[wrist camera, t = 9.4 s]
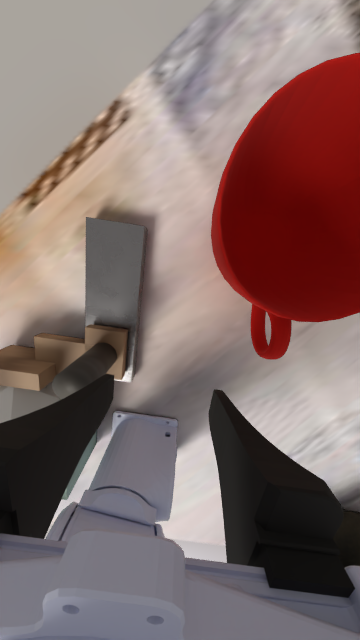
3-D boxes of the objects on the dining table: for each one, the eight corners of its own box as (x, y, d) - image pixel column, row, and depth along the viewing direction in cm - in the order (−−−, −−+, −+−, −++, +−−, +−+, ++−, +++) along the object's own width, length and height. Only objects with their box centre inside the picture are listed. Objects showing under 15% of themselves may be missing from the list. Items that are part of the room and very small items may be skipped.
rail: (147, 229, 19) (144, 226, 18) (134, 375, 24) (131, 382, 22) (93, 221, 19) (86, 216, 18) (91, 369, 24) (85, 375, 22)
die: (82, 373, 25) (-11, 376, 16) (72, 442, 22) (-42, 487, 14) (49, 371, 28) (-43, 373, 20) (37, 431, 26) (-72, 462, 18)
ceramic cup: (188, 324, 22) (191, 364, 12) (211, 165, 17) (244, 29, 8) (289, 337, 22) (373, 387, 12) (337, 182, 18) (525, 68, 8)
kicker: (131, 326, 22) (98, 358, 13) (127, 375, 23) (96, 430, 15) (7, 307, 21) (-106, 328, 13) (13, 358, 23) (-83, 405, 15)
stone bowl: (354, 472, 27) (442, 572, 18) (412, 533, 33) (499, 630, 24) (232, 541, 31) (256, 648, 23) (303, 584, 37) (343, 681, 29)
